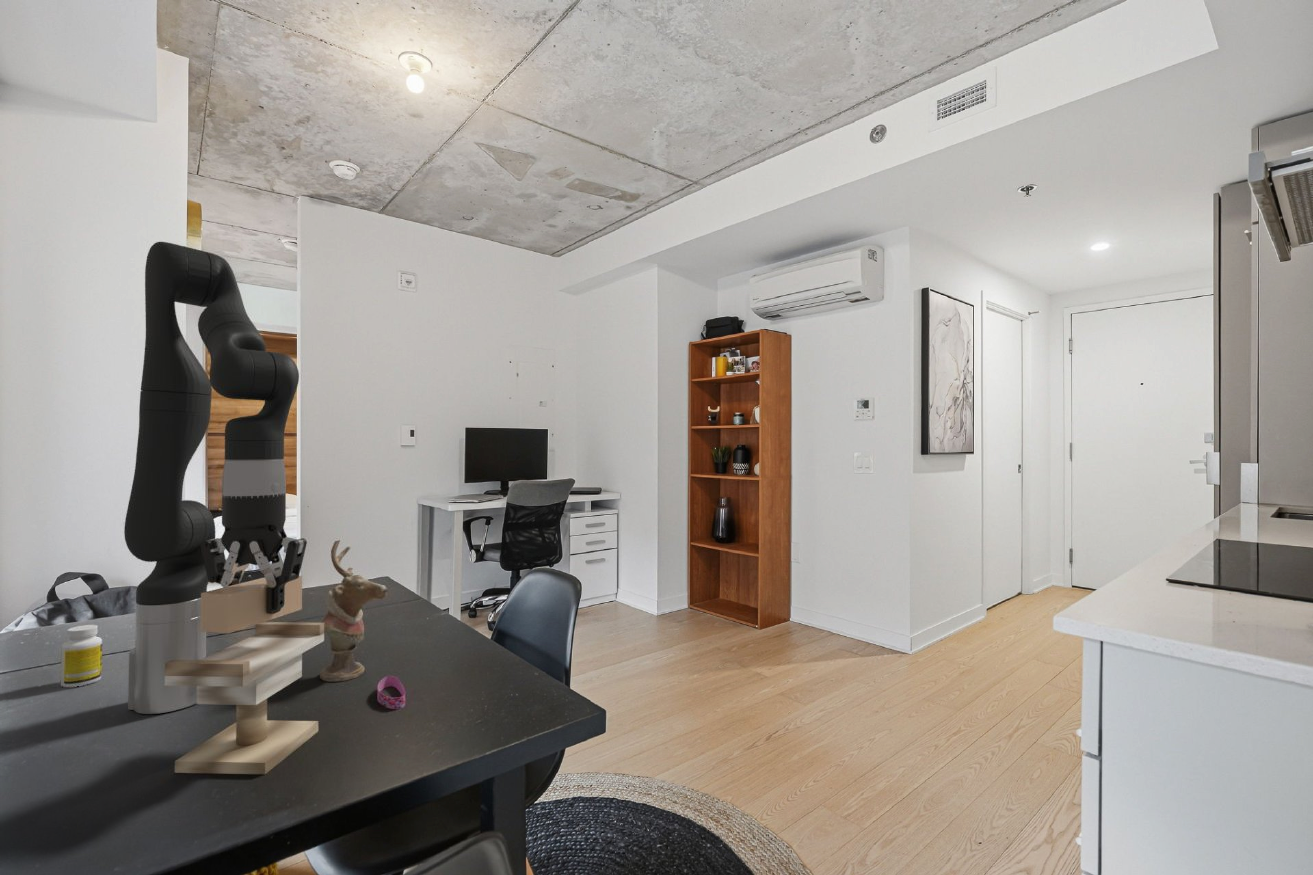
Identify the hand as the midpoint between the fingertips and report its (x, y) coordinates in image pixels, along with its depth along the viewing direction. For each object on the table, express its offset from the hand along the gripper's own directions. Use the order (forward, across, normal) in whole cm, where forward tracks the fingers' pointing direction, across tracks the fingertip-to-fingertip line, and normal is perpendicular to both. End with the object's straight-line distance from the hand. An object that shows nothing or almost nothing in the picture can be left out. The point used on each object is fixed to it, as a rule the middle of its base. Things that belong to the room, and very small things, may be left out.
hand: (253, 612), depth 86 cm
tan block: (+1, 0, 0) cm, 1 cm away
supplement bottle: (+19, +47, -23) cm, 56 cm away
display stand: (+19, 0, 0) cm, 19 cm away
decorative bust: (+20, +1, -28) cm, 34 cm away
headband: (+20, -11, -18) cm, 29 cm away
